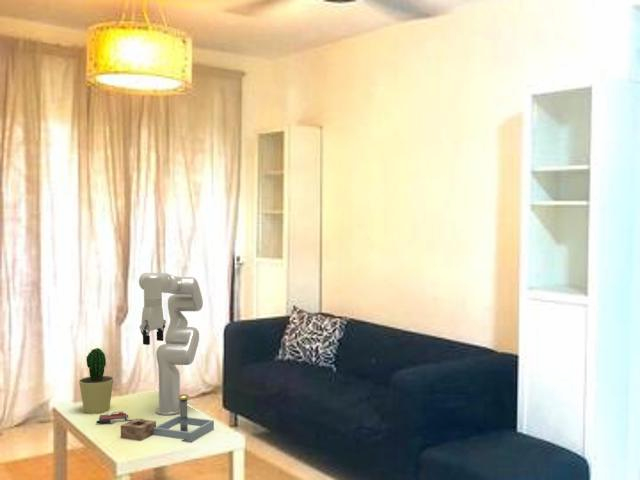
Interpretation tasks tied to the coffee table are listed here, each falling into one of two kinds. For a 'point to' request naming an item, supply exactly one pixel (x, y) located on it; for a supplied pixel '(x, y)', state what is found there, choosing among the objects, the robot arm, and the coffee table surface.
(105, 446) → the coffee table surface
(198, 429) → the tray
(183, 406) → the pin
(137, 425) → the holder block
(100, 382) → the potted cactus
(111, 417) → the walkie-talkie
